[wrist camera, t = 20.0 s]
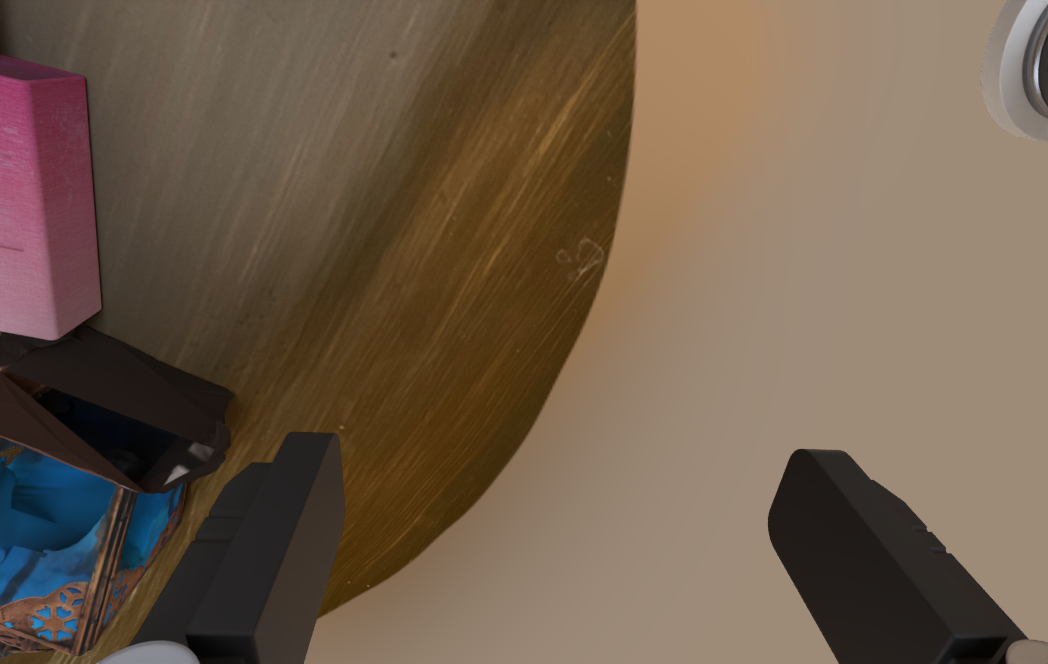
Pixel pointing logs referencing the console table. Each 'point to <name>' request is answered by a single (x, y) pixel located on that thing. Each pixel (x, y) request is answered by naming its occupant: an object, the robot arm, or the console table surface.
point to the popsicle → (45, 202)
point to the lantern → (91, 479)
